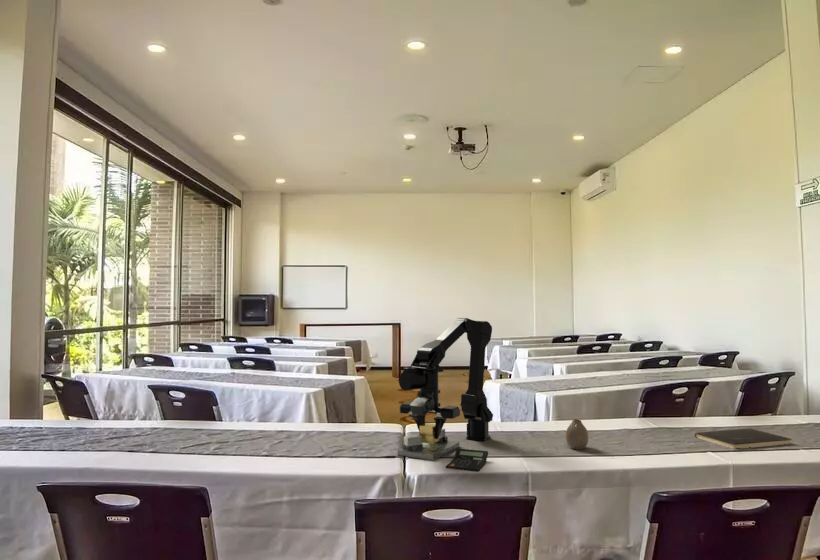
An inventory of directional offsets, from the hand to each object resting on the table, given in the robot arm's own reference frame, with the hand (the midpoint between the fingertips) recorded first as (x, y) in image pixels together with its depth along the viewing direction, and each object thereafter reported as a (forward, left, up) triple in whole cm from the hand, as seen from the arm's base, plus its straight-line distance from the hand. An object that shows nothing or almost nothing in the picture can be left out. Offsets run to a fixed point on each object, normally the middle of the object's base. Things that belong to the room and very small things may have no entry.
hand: (429, 437), depth 171 cm
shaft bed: (0, 0, -4) cm, 4 cm away
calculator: (-16, +7, -4) cm, 18 cm away
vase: (-39, -26, -4) cm, 47 cm away
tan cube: (0, 0, -1) cm, 1 cm away
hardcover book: (-84, -62, -5) cm, 105 cm away
